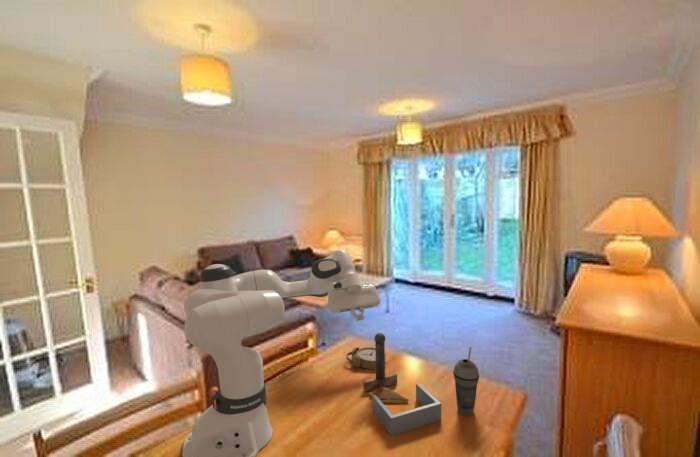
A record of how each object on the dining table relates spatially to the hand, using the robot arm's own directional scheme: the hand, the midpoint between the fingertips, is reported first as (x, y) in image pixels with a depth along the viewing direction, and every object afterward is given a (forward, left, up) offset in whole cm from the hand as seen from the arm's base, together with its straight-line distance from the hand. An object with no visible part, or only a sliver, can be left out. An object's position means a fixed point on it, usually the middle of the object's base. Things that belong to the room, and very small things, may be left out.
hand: (360, 320), depth 131 cm
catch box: (0, -32, -18) cm, 37 cm away
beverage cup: (+17, -37, -18) cm, 45 cm away
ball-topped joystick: (0, -16, -18) cm, 24 cm away
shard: (0, -21, -18) cm, 28 cm away
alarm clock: (+3, +2, -18) cm, 18 cm away
